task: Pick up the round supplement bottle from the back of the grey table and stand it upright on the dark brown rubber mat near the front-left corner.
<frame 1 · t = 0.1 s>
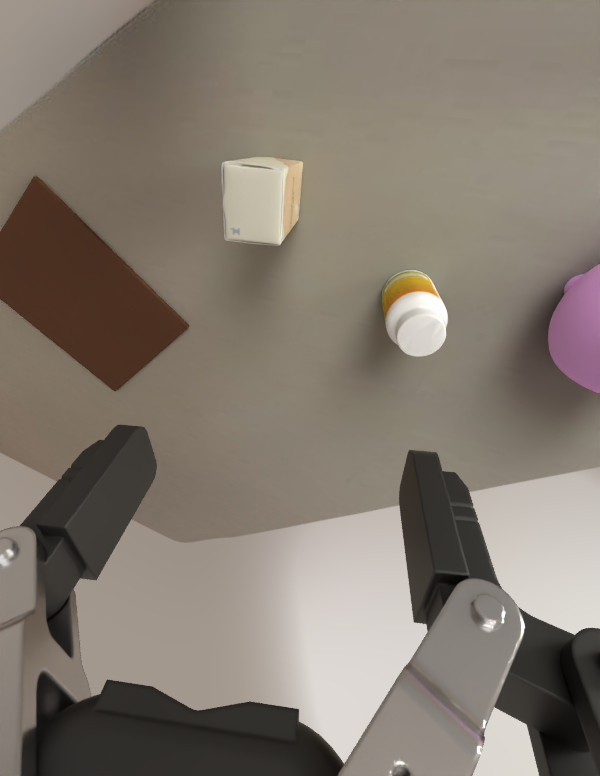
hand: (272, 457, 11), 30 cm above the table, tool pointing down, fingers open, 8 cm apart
box: (278, 187, 35), on the table
mat: (83, 300, 44), on the table
supplement bottle: (406, 293, 39), on the table
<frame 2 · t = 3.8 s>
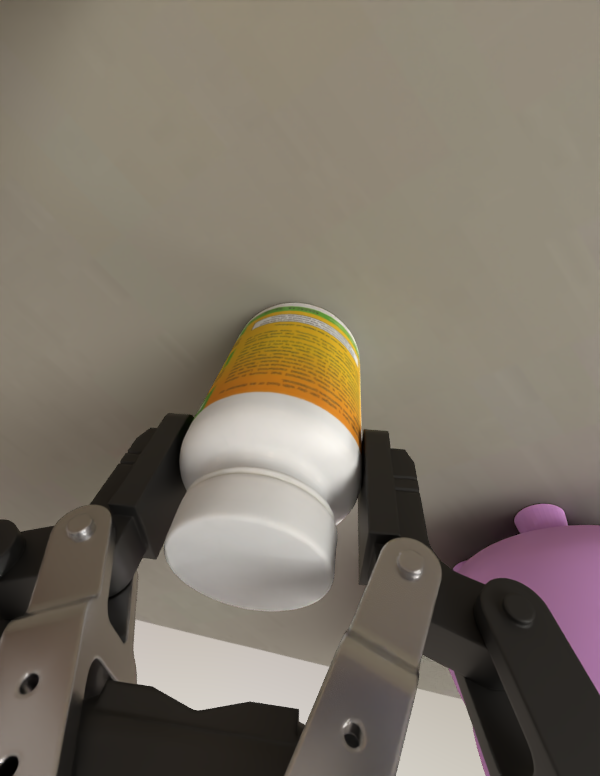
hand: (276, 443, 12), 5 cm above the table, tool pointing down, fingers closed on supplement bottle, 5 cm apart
teapot: (536, 565, 23), on the table
supplement bottle: (298, 355, 16), on the table, touching gripper
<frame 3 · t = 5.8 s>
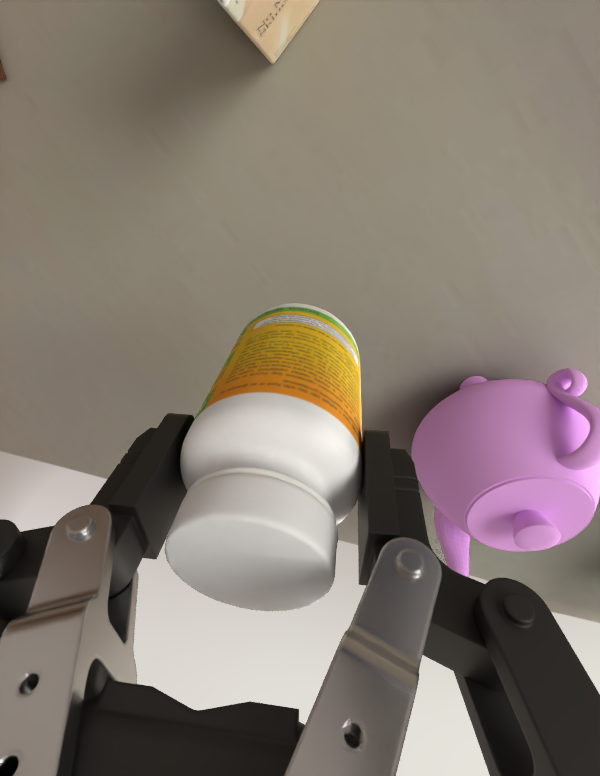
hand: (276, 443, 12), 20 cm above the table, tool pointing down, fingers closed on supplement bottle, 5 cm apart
teapot: (477, 428, 36), on the table
supplement bottle: (298, 355, 16), point 15 cm above the table, touching gripper
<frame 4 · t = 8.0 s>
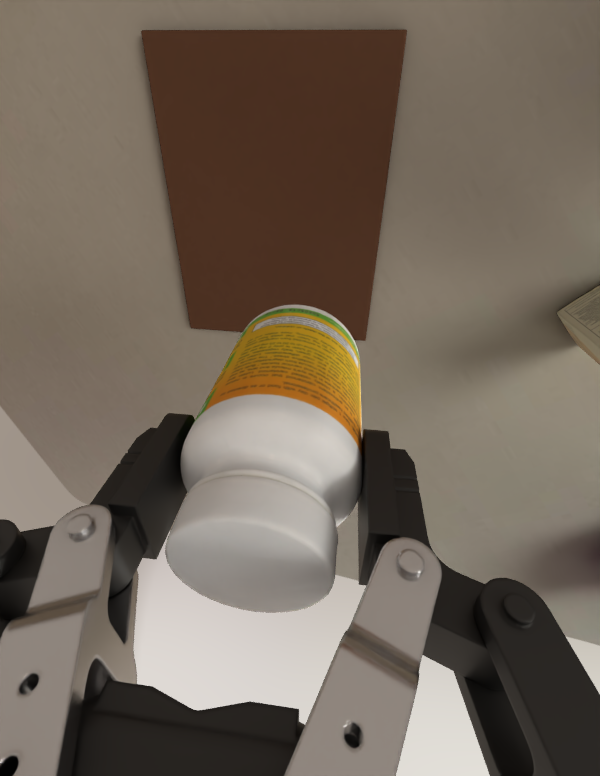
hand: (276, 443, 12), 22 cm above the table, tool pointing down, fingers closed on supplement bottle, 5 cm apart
box: (599, 308, 29), on the table
mat: (274, 212, 28), on the table
supplement bottle: (298, 356, 17), point 16 cm above the table, touching gripper
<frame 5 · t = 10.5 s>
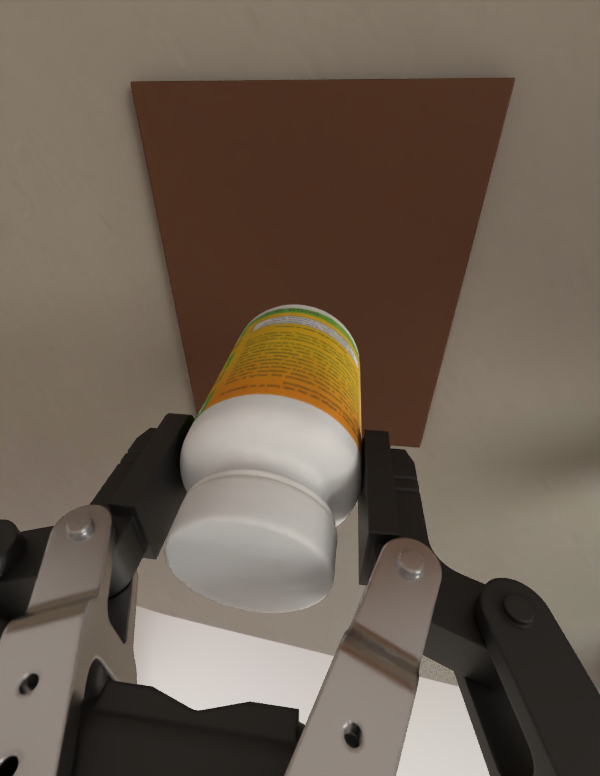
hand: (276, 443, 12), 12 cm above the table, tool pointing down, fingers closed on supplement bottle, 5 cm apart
mat: (309, 304, 21), on the table
supplement bottle: (298, 356, 17), point 6 cm above the table, touching gripper
when the fingers open (6 cm above the table, at t = 12.4 s): supplement bottle stays where it is, resting on mat.
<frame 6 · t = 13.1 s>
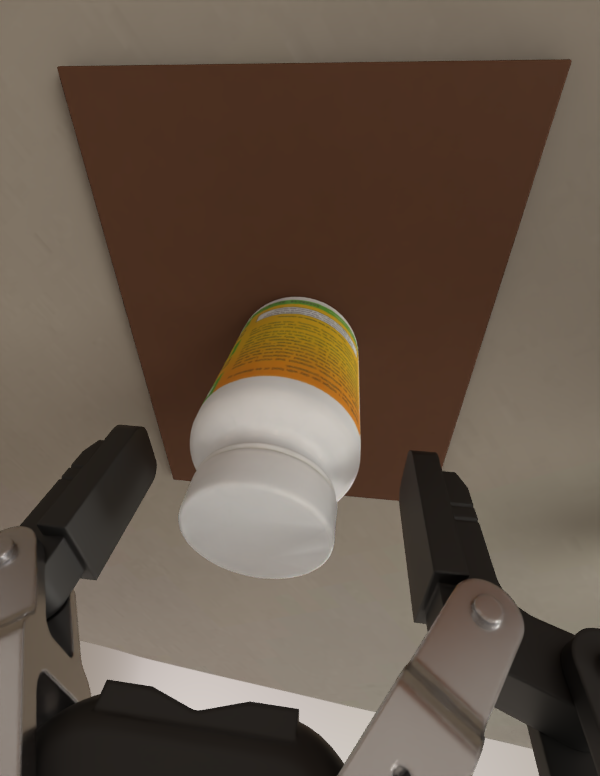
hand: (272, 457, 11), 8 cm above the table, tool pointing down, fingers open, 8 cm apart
mat: (299, 343, 17), on the table
supplement bottle: (299, 347, 17), resting on mat
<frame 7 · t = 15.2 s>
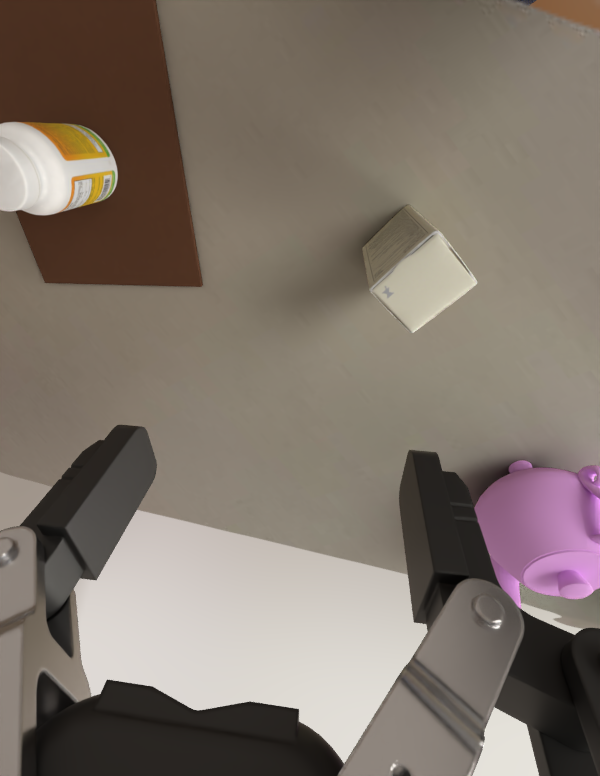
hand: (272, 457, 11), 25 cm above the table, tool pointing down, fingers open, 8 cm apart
teapot: (520, 494, 46), on the table
box: (400, 243, 31), on the table
mat: (89, 163, 30), on the table
supplement bottle: (88, 164, 30), resting on mat
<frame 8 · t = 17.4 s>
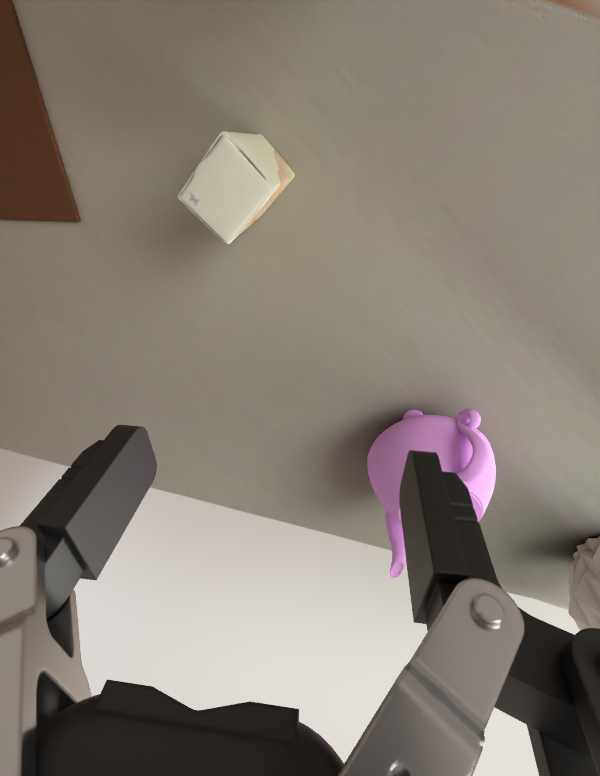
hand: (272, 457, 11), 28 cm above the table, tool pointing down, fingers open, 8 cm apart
teapot: (419, 446, 47), on the table
box: (260, 176, 32), on the table
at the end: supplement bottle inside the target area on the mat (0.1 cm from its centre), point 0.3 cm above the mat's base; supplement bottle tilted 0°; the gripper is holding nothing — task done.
